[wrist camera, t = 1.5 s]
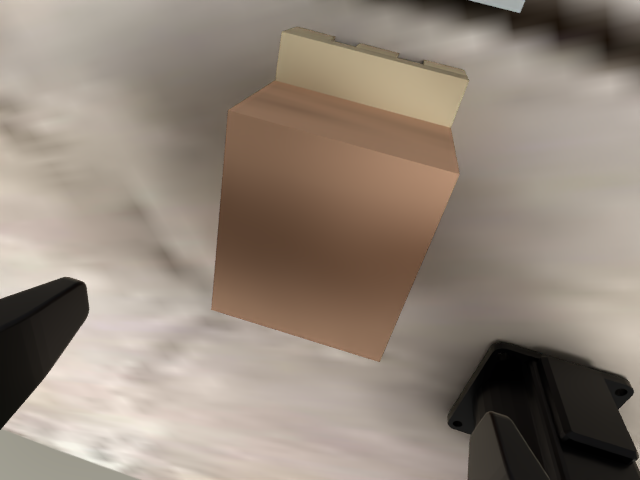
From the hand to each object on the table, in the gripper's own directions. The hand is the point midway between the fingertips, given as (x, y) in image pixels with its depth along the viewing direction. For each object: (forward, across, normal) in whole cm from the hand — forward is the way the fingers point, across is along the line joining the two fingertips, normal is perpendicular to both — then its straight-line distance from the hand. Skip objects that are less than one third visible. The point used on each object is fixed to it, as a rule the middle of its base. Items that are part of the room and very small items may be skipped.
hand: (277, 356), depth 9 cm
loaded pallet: (+10, 0, 0) cm, 10 cm away
